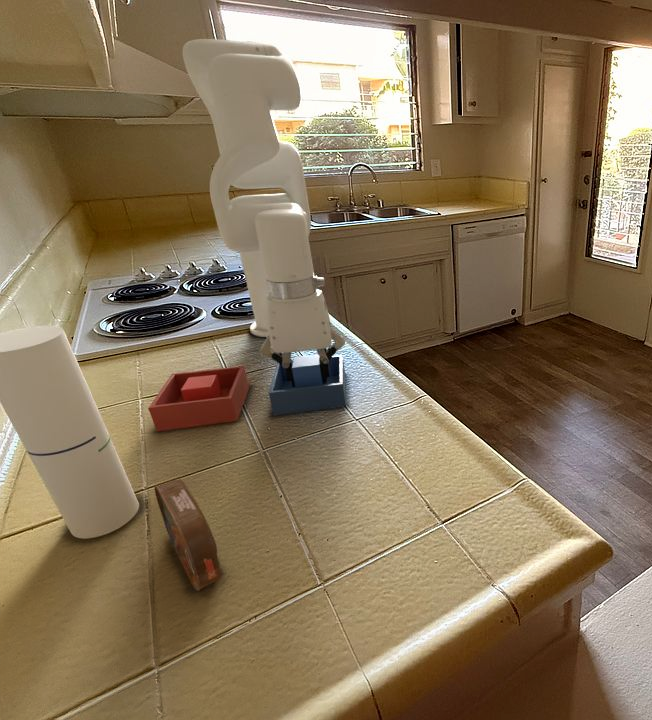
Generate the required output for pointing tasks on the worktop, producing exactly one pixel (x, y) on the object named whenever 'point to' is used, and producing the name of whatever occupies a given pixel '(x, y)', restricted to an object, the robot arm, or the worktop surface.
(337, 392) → the blue bin
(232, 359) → the worktop surface
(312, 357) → the blue block
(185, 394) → the red block
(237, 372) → the red bin
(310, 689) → the worktop surface
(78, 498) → the cylindrical container
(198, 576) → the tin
